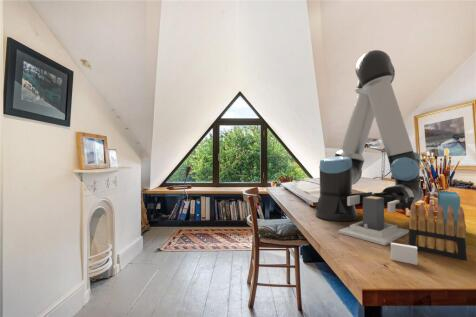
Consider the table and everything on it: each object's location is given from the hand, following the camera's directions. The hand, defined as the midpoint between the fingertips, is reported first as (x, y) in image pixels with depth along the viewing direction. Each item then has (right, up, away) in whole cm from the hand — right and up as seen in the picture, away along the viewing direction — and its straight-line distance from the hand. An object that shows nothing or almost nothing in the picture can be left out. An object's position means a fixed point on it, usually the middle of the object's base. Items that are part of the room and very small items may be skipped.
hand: (367, 204), depth 69 cm
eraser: (-1, -10, -17) cm, 20 cm away
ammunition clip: (+10, -10, -13) cm, 19 cm away
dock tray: (+3, -9, +2) cm, 10 cm away
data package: (+27, -9, +3) cm, 29 cm away
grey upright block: (+3, -8, +2) cm, 9 cm away
